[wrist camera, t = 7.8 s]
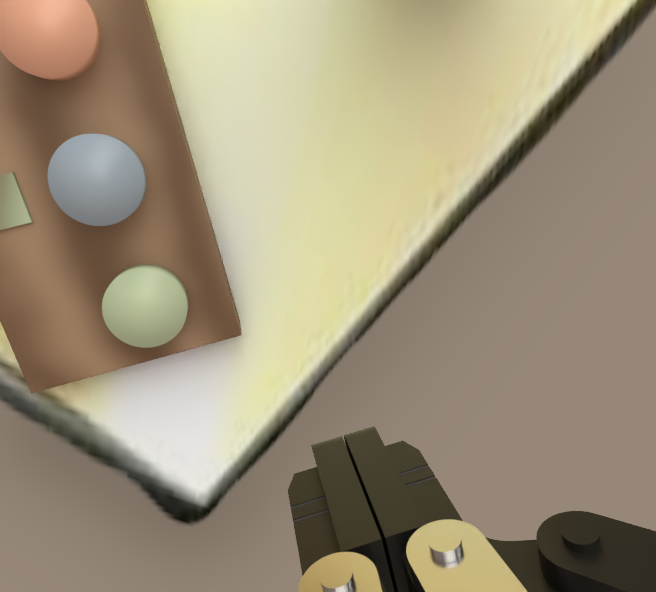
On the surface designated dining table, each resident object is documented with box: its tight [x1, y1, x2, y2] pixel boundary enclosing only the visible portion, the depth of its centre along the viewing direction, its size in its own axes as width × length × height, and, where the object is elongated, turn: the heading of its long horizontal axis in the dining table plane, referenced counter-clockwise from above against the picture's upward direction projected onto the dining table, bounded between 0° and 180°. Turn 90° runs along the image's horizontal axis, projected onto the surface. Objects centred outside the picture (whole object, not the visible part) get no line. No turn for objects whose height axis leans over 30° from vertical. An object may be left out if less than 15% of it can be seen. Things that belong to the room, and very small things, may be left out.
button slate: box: [48, 134, 147, 226], centre depth 32 cm, size 5×5×2 cm
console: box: [0, 0, 241, 393], centre depth 36 cm, size 14×24×3 cm, turn 13°
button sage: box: [102, 264, 189, 348], centre depth 36 cm, size 5×5×2 cm
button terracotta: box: [0, 0, 101, 81], centre depth 30 cm, size 5×5×2 cm
